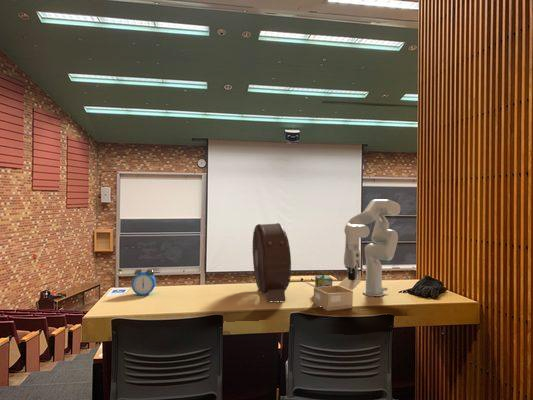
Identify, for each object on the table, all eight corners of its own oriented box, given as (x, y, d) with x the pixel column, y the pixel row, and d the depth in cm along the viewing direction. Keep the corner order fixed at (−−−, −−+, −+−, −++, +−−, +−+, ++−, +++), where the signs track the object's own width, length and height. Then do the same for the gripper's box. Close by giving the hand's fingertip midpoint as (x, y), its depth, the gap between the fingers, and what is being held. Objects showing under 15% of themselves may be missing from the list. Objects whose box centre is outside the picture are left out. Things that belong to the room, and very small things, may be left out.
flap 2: (338, 284, 201) (338, 285, 201) (351, 289, 190) (352, 290, 190) (346, 276, 203) (347, 277, 204) (360, 281, 192) (360, 281, 192)
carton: (337, 300, 202) (337, 285, 202) (353, 308, 189) (353, 291, 189) (313, 303, 196) (313, 287, 196) (327, 311, 182) (327, 294, 182)
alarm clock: (130, 296, 204) (131, 270, 204) (133, 293, 210) (133, 268, 210) (154, 295, 206) (154, 270, 206) (155, 292, 212) (156, 268, 212)
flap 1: (304, 281, 193) (304, 281, 193) (316, 286, 181) (316, 287, 181) (314, 286, 195) (314, 287, 195) (326, 292, 183) (326, 292, 183)
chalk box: (332, 298, 208) (333, 273, 208) (317, 298, 207) (317, 273, 208) (329, 294, 217) (329, 270, 217) (314, 293, 217) (315, 270, 217)
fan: (292, 304, 194) (294, 225, 194) (261, 305, 191) (262, 225, 191) (276, 286, 235) (277, 221, 235) (250, 286, 231) (251, 221, 231)
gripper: (366, 248, 192) (365, 282, 191) (349, 245, 205) (348, 276, 205) (354, 248, 189) (353, 283, 189) (338, 245, 203) (338, 277, 202)
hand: (351, 279), depth 197 cm, fingers closed
